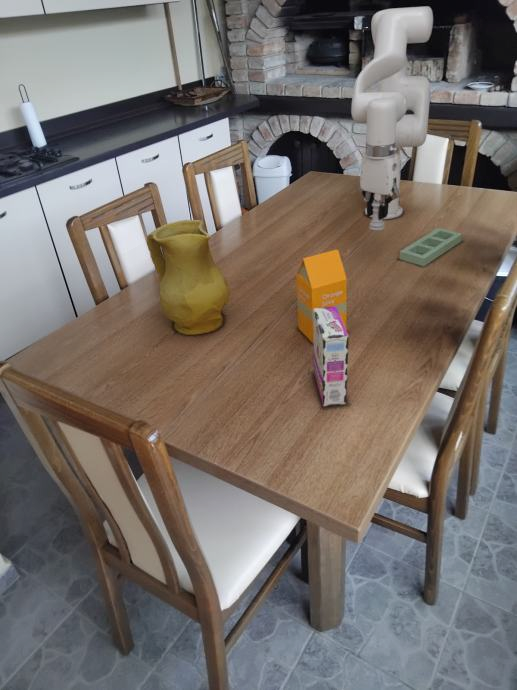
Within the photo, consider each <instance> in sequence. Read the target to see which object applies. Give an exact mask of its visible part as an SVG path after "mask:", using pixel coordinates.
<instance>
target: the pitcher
mask: <svg viewBox="0 0 517 690" xmlns="http://www.w3.org/2000/svg"><path fill="white" fill-rule="evenodd" d="M210 239H211V236H210V234H209V233H208V232H206V229H205V222H204V221H203V220H202V219H182V220H177V221H173V222H170V223H166V224H163V225H161V226H159V227H156V228H155V229H154V230H153V231H151V232H150V233H148V234H147V236H146V245H147V248H148V251H150V259H151V261H152V264H153V265H154V266H155V271H156V273H157V275H158V282H159V286H158V297H159V303H160V306H161V309H162V312H163V314H164V315H165V317H166V318H167V319H168V320H170V321H172V322H174V325H173V326H174V329H175V331H177V333H178V334H183V335H187V336H188V335H190V336H192V335H194V336H196V335H202V334H206V333H207V334H208V333H211V332H213V331H216V330H217V329H219V328H221V326H223V321H224V316H223V314H222V310H223V308H224V307H225V306H227V305H228V302H229V300H230V296H231V292H230V286H229V283H228V281H227V278H226V277H225V275H224V273H223V272H222V271H221V270H220V269H219V267H218V266H217V265H216V263H215V261H214V258H213V255H212V253H211V248H210V243H209V241H210Z"/></svg>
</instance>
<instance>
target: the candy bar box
mask: <svg viewBox="0 0 517 690" xmlns="http://www.w3.org/2000/svg"><path fill="white" fill-rule="evenodd" d="M313 310H314V344H313V374H314V378H315V382H316V385H317V389H318V393H319V397H320V399H321V404H322V407H323V408H324V407H325V408H326V407H334V406H335V407H336V406H344V405H347V398H348V397H347V395H348V367H349V366H348V365H349V364H348V363H349V339H350V335H349V333H348V330H347V327H346V328H345V326H344V323H343V321H342V318H341V316H340V313H339V311H338V308H337V306H333V307H324V308H314V309H313Z"/></svg>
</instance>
